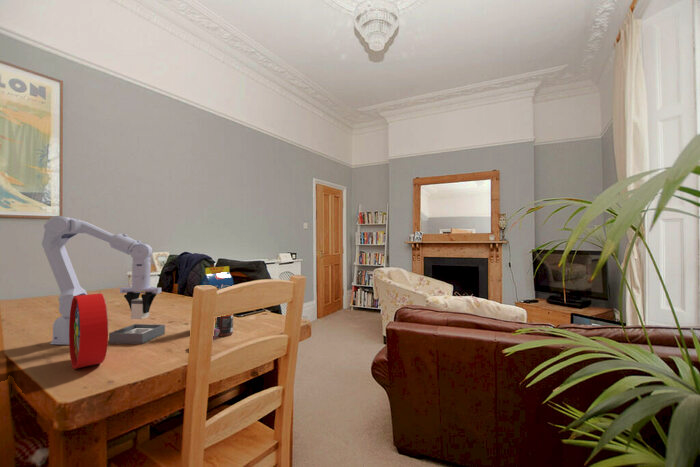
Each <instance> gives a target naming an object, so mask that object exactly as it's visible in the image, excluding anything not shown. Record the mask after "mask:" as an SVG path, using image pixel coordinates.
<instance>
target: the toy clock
mask: <svg viewBox="0 0 700 467" xmlns="http://www.w3.org/2000/svg"><path fill="white" fill-rule="evenodd" d="M105 298H106V297H105V296H104V294H103V293H101V292H100V293H91V294H88V295H78V296H74V297H73V299H72V303H71V310H70V321H69V345H68V346H69V347H68V348H69V357H70V363H71V366H72V369H73V370H76V369H81V368H85V367H90V366H95V365H98V364H102V363H103V362H104V361H105V358H106V356H107V351H108V344H109V315H108V307H107V302H106V299H105Z"/></svg>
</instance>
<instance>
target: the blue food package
mask: <svg viewBox="0 0 700 467" xmlns="http://www.w3.org/2000/svg"><path fill="white" fill-rule="evenodd" d="M204 269H205V271H204V272H205V274H204V276H203V277H202V279H201V281H200V285H213V286H216V287H217V288H218V289H222V288H225V287H228V286H232V285H234V284H235V283H234V279H233V276H232V275H231V273H230V266H229V265H227V266H218V267H217V266H213V267H205V268H204ZM216 320H217V318H215V328H216Z"/></svg>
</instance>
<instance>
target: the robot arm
mask: <svg viewBox="0 0 700 467" xmlns="http://www.w3.org/2000/svg"><path fill="white" fill-rule="evenodd" d="M43 229H44V233H43V237H42V242H41V245H42V246H41V247H42V249H43V251H44V253H45V255H46V259H47V262H48V264H49V266H50V268H51V271H52V273H53V276H54V279H55V281H56V283H57V286H58V288H59V291H60V293H59V297H58V299H57V300H58V303H59V307H58V312H59V314H60V315H61V316H59V317H58V318H56V319H55V320H54V322H53V324H52V341H51V342H49V345H63V346H64V345H65V346H66V345H67V346H69V321H70V310H71V303H72V299H73V297H74V296H78V295H89V294H88V293H87V290H85V288H83V287H82V286H81V285H80V282H79V280H78V277H77V274H76V272H75V269H74V267H73V264H72V261H71V259H70V256H69V253H68V251H67V249H66V246H65V245H66V244H67V243H68V242H69V240H71V239H72V238H73V237H75V236H76V235H78V234H87V235H89V236H91V237H94V238H97V239H100V240H101V241H105V242H106V243H107V242H108V243H109V246H110V248H112V249H114V250H116V251H118V252H122V253H124V254H126V255H129V256H130V257H131V258H132V263H131V266H132V267H131V286H124V287H123V286H122V287H119V293H120V294H124V296H123V297H124V299H125V300H126V302H127V303H128V306H129V309H130V311H131V305H132V304H131V301H132V300H133V299H137V298H142V301H143V313H148V312H149V313H150V310H151V306H152V304H153V301H154V299H155V298H156V296H157V295H158V294H162V287H155V286H151V270H152V269H151V265H152V264H151V256H153V253H154V250H153V248H152V246H150V245H149V244H148V243H142V241H141V240H136V239H133V238H131V237H130V236H129V234H126V233H117V234H113V233H112V232H109V231H107V230H106V229H103V228H101V227H99V226H97V225H94V224H92V223H90V222H87V221H86V220H85V221H84V220H82V219H78V218H76V217H67V216H66V217H65V216H64V215H63V216H62V215H55V216H52V217H50V218H49V219H48V220H46V222H45V223H44V224H43Z"/></svg>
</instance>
